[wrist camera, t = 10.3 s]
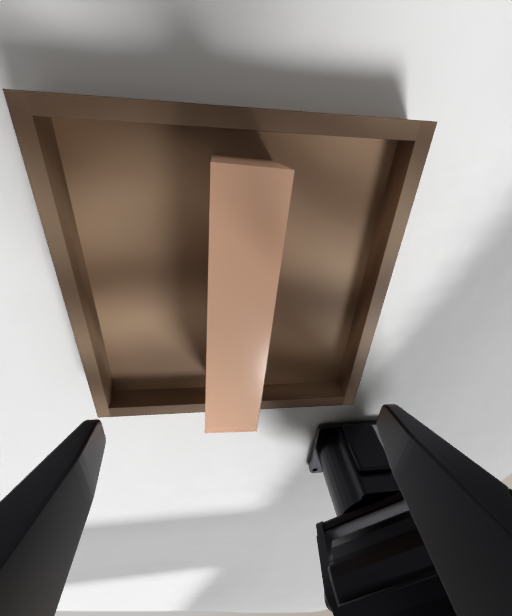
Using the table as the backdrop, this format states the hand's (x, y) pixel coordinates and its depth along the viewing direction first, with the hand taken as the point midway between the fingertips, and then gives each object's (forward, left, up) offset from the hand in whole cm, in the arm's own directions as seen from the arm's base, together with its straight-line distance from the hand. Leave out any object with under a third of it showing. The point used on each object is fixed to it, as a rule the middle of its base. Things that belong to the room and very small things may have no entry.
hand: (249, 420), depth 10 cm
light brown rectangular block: (0, 0, -10) cm, 10 cm away
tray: (0, 0, -11) cm, 11 cm away
